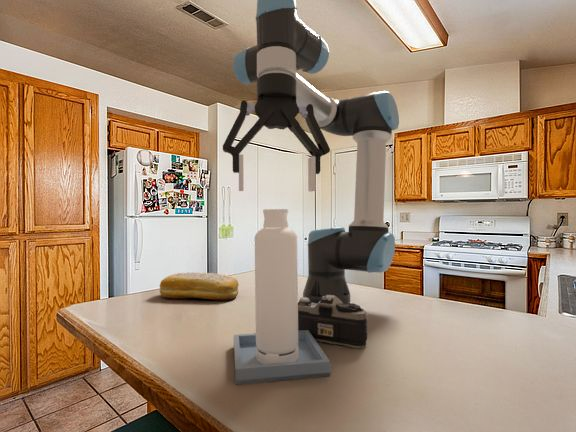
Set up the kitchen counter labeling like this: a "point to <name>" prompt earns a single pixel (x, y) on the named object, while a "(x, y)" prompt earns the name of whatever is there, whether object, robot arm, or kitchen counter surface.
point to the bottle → (276, 289)
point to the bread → (199, 286)
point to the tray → (305, 366)
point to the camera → (333, 321)
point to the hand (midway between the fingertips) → (277, 191)
